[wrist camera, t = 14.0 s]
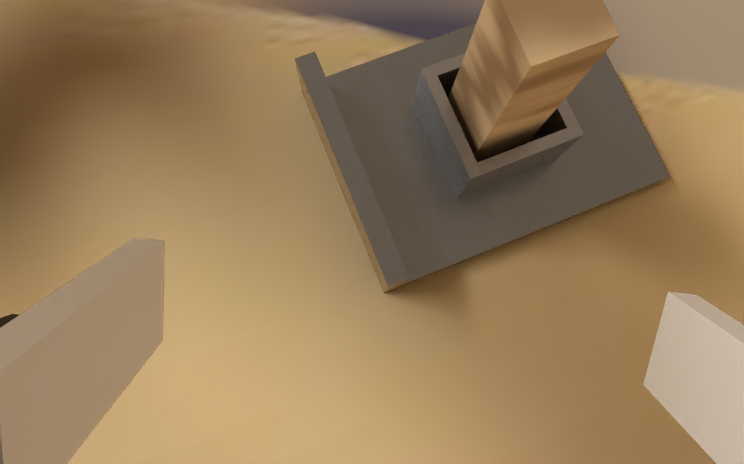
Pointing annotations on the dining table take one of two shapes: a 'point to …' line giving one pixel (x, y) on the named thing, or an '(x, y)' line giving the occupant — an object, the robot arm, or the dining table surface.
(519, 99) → the wooden block
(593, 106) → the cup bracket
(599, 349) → the dining table surface
